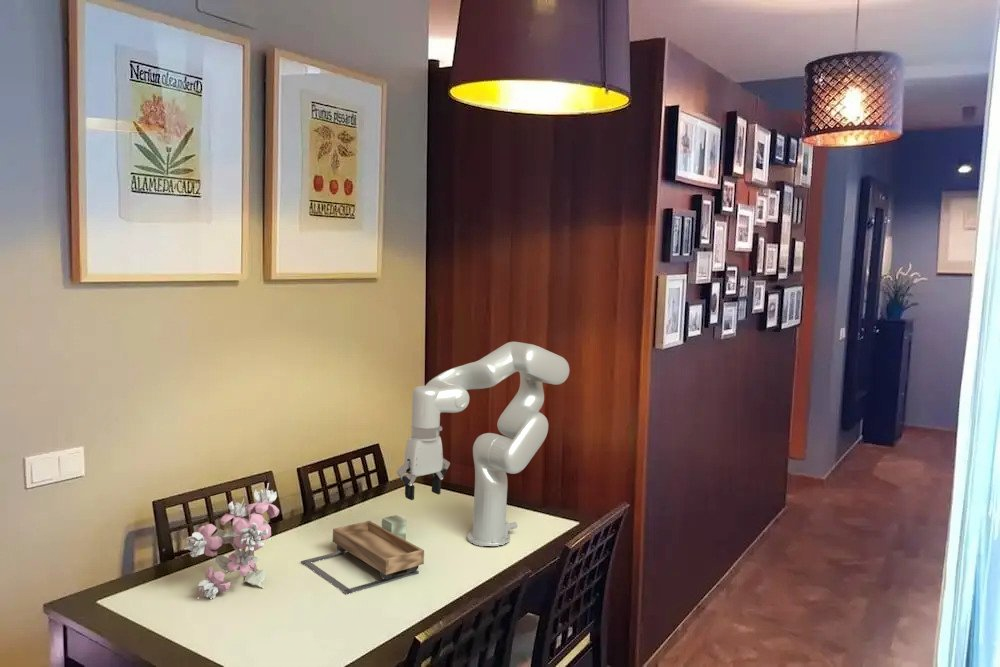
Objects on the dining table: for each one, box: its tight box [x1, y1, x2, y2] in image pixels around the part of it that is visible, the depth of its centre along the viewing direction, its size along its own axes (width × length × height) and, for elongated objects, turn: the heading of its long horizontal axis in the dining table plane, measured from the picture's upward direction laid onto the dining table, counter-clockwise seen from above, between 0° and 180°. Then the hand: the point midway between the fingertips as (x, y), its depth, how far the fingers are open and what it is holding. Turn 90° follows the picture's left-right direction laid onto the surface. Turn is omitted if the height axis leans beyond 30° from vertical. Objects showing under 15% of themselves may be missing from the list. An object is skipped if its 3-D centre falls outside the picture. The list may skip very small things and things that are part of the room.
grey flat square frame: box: [300, 550, 420, 595], centre depth 203 cm, size 22×24×1 cm
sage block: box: [381, 514, 407, 541], centre depth 222 cm, size 5×5×7 cm
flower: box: [182, 482, 280, 600], centre depth 188 cm, size 20×22×25 cm
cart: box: [332, 520, 425, 580], centre depth 206 cm, size 12×27×6 cm, turn 41°
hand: (423, 495), depth 208 cm, fingers open, 8 cm apart
